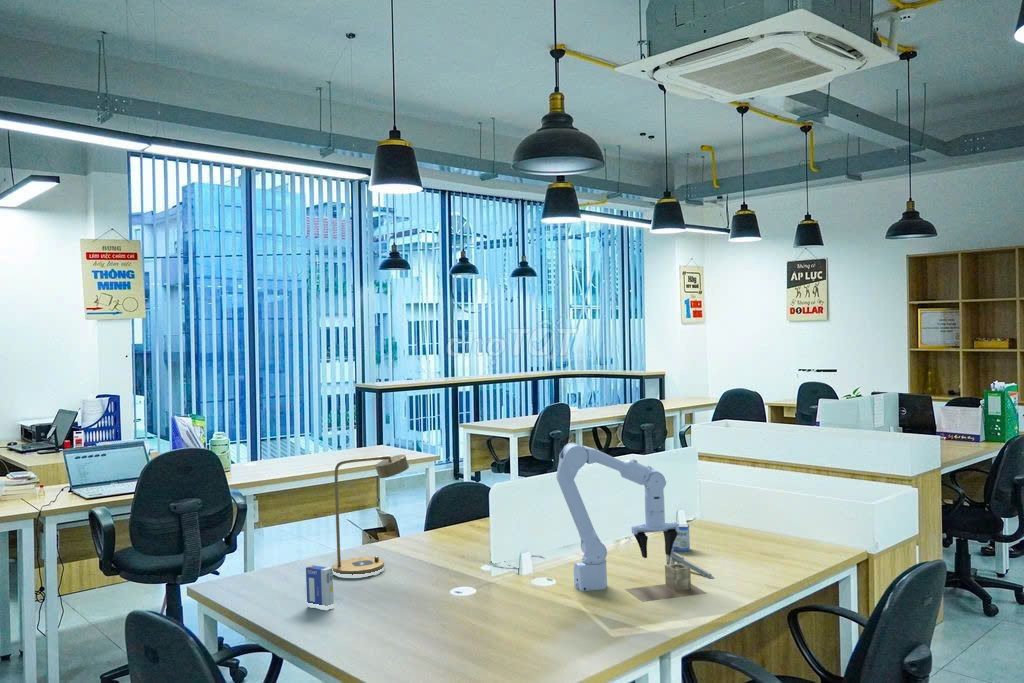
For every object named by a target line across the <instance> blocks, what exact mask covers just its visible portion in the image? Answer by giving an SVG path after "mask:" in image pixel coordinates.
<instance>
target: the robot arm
mask: <svg viewBox="0 0 1024 683" xmlns="http://www.w3.org/2000/svg"><path fill="white" fill-rule="evenodd" d="M558 456H559V457H558V458H559V459H558V464H557V471H556V480H557V483H558V486H559V487H560V490H561V492H562V494H563V497H564V500H565V502H566V505H567V507H568V510H569V512H570V515H571V517H572V520H573V522H574V524H575V527H576V529H577V532H578V536H579V538H580V548H581V551H582V552H583V554H584V555H583V556H582V558H581V561H580V562H576V563H574V565H573V582H574V583H573V584H574V587H575V589H578V590H579V591H580V592H586V591H600V590H604V589H607V588H608V573H607V572H608V571H607V567H608V566H607V555H608V549H607V547H606V546H605V544H603V542H602V541H601V539H600V538H599V536H598V534H597V532H596V530H595V528H594V526H593V522H592V521H591V518H590V515H589V514H588V511H587V509H586V506H585V504H584V501H583V499H582V497H581V493H580V490H579V489H578V487H577V484H576V481H575V478H576V476H577V474H578V472H579V470H580V469H582V468H583V466H585V465H586V464H587V465H590V464H591V465H593V464H595V463H598V464H599V465H602V466H605V467H608V468H610V469H613V470H615V471H618V472H619V474H620V476H621V477H622V478H623V479H626V480H628V481H630V482H633V483H634V484H635V483H636V484H638V485H640V486H642V485H643V486H644V512H645V513H644V515H645V524H639V525H635V526H631V534H633V536H634V537H635V540H636V542H637V544H638V545H639V546H638V547H639V549H640V553H641V556H642V558H644V559H647V558H648V538H649V536H648V535H646V533H648V534H649V533H656V532H657V533H658V532H663V538H664V551H665V552H664V553H665V555H666V554H667V555H668V556H670V555H671V550H672V546H673V543H674V541H675V539H676V537H677V534H678V533H677V531H676V530H679V524H680V523H678V522H666V517H665V516H666V514H665V492H664V491H665V490H664V489H665V487H666V485H667V480H666V477H665V476H664V474H663V473H661V472H660V471H658V470H656V469H655V468H652V466H650V465H647V466H646V465H643V464H642V463H639V462H638V459H637V460H636V459H635V458H633V459H626V460H620V459H618V458H615V457H614V456H612V455H609V454H607V453H605V452H602V451H601V450H598V449H596V448H593V447H590V446H586V445H582V444H581V445H580V444H578V443H576V442H569V443H567V444H565V445H564V446H563V448H562V450H561V452H559V455H558Z"/></svg>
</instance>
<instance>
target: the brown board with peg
mask: <svg viewBox="0 0 1024 683" xmlns="http://www.w3.org/2000/svg"><path fill="white" fill-rule="evenodd" d="M677 568H679V567H675V569H677ZM625 591H627V592H628V593H629V594H631V595H632V596H634V597H635V598H637V599H638V600H639V601H640V602H642V603H643V602H649V601H650V602H651V601H659V600H667V599H674V598H680V597H681V598H682V597H688V596H696V595H704V594H707V591H705V590H703V589H701V588H699V587H698V586H697V585H694V584H692V583H691V589H685V590H678V591H673V590H672V589H670V588H669V587H667V586H666V583H664V584H663V583H662V584H657V585H648V586H640V587H639V586H638V587H632V588H631V587H630V588H625Z"/></svg>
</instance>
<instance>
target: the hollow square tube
mask: <svg viewBox="0 0 1024 683" xmlns="http://www.w3.org/2000/svg"><path fill="white" fill-rule="evenodd" d="M675 567H679V568H677V569H675ZM664 576H665V577H664V579H665V582H664V584H666V586H667V587H669V588H670V589H672V590H673V591H678V590H685V589H691V584H692V581H691V580H692V579H691V568H689V567H688V566H686V565H684V564H682V563H679V564H678V563H675V564H670V565H667V564H664Z"/></svg>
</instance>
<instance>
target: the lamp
mask: <svg viewBox="0 0 1024 683" xmlns="http://www.w3.org/2000/svg"><path fill="white" fill-rule="evenodd" d="M377 460H378V461H379V462H377V463H376V464H374V467H375V470H376V473H377V476H378V478H379V479H386V478H390V477H393V476H396V475H399V474H402V473H404V472H405V471H407V470H408V469H409V468H410V465H409V462H408V459H407V456H406V454H398V455H393V456H391V455H382V456H371V457H362V458H353V459H346V460H342V461H340V462H338V463H337V464H336V465H335V468H334V497H335V498H334V499H335V526H336V527H335V530H336V532H335V534H336V558H337V560H336V561H337V562H335V563H334V564H333V565H332V567H331V568H332V569H333V570H332V572H333V571H334V572H336V573H340V574H352V575H353V574H365V573H371V572H375V571H378V570H380V569H382V568H383V567H384V568H385V561H384V559H382V558H380V557H379V555H376V556H374V557H371V556H370V557H369V556H364V557H362V556H361V557H353V558H348V559H347V558H345V559H343V560H341V540H340V539H341V537H340V533H341V532H340V510H339V509H340V507H339V477H338V476H339V468H340V467H341V466H342V465H345V464H350V463H359V462H360V463H361V462H368V461H369V462H370V461H377ZM380 460H381V461H380Z"/></svg>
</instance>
